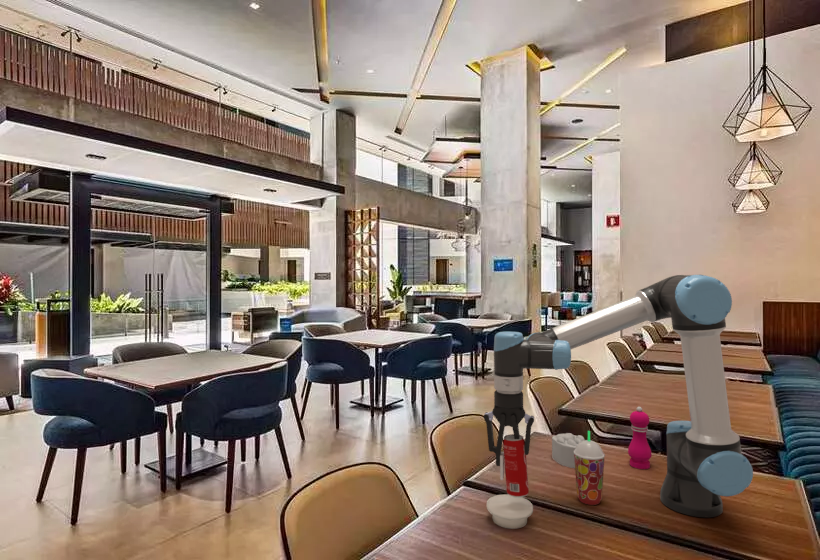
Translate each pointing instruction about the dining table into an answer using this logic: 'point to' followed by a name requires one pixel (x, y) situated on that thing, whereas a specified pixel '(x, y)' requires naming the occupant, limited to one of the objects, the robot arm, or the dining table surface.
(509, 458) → the beverage can
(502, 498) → the stand
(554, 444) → the lumpy-topped squat cylinder
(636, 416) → the pepper mill
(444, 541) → the dining table surface
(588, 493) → the smoothie
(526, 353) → the robot arm
